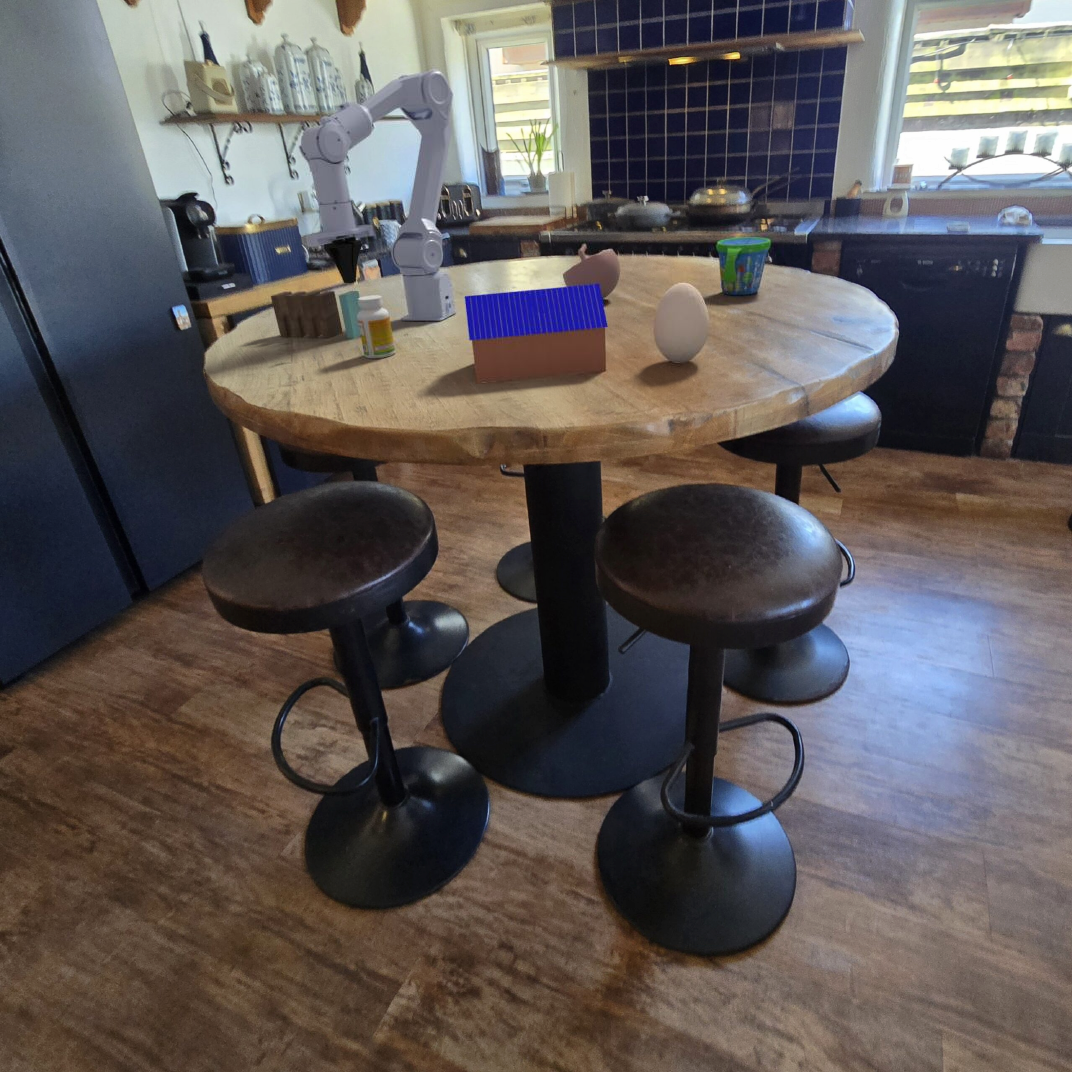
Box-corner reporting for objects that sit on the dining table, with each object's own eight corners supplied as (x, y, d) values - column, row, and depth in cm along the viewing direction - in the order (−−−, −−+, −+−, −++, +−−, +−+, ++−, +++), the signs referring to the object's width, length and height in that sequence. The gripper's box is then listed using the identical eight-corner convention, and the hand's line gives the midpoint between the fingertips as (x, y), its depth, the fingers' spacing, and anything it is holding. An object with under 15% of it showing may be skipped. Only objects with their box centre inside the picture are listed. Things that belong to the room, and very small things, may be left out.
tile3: (328, 332, 139) (319, 291, 136) (315, 337, 136) (306, 295, 132) (322, 332, 140) (312, 291, 136) (309, 337, 136) (299, 295, 132)
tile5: (300, 332, 142) (291, 291, 138) (287, 337, 138) (277, 296, 134) (294, 332, 142) (284, 291, 138) (280, 337, 139) (270, 296, 135)
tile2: (342, 332, 138) (334, 291, 134) (330, 338, 135) (321, 295, 131) (336, 332, 139) (327, 291, 135) (323, 338, 135) (314, 295, 131)
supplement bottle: (401, 351, 122) (391, 294, 117) (385, 359, 117) (375, 300, 113) (374, 350, 123) (364, 294, 119) (358, 358, 119) (347, 300, 114)
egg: (650, 356, 107) (651, 280, 102) (701, 353, 107) (705, 276, 101) (656, 371, 100) (657, 289, 95) (711, 368, 100) (716, 285, 94)
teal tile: (347, 338, 134) (338, 295, 130) (359, 332, 137) (351, 291, 133) (354, 338, 133) (345, 295, 129) (366, 332, 137) (358, 290, 133)
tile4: (314, 332, 141) (305, 291, 137) (301, 337, 137) (291, 295, 133) (308, 332, 141) (298, 291, 137) (294, 337, 137) (284, 295, 134)
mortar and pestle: (583, 294, 156) (581, 239, 150) (630, 297, 149) (630, 240, 144) (553, 305, 147) (550, 247, 142) (601, 308, 141) (600, 248, 135)
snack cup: (748, 301, 137) (752, 246, 132) (699, 298, 143) (702, 245, 138) (778, 287, 147) (783, 235, 142) (732, 284, 153) (735, 235, 148)
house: (608, 372, 102) (607, 290, 97) (474, 385, 101) (465, 304, 96) (594, 352, 113) (592, 277, 107) (472, 364, 112) (464, 289, 106)
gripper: (318, 206, 116) (335, 290, 123) (379, 198, 126) (392, 276, 133) (291, 207, 120) (309, 289, 126) (352, 199, 130) (366, 275, 137)
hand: (350, 282), depth 130 cm, fingers closed
